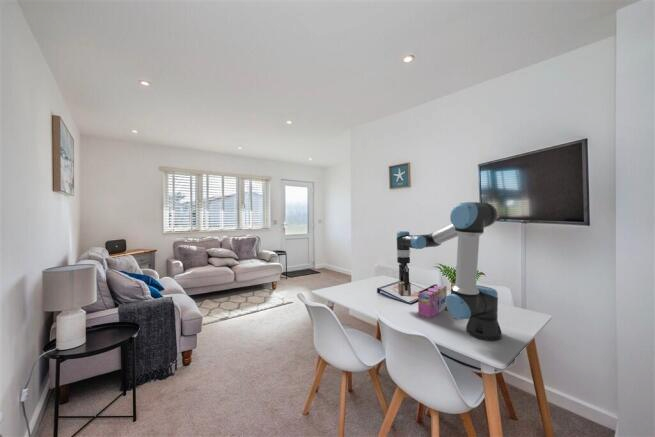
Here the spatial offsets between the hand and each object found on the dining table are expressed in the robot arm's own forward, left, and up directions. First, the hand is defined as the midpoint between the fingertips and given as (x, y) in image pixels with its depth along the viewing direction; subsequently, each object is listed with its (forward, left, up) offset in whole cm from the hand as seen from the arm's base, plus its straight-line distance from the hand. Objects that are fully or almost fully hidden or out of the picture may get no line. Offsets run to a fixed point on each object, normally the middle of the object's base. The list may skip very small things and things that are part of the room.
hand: (404, 293), depth 164 cm
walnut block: (0, 0, 0) cm, 0 cm away
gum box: (-3, -17, -10) cm, 20 cm away
